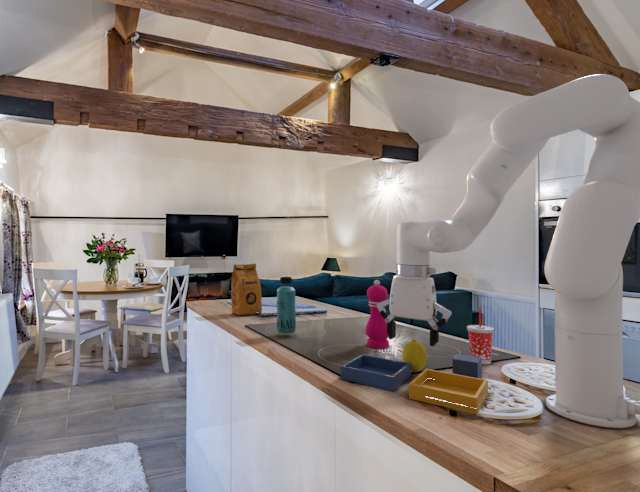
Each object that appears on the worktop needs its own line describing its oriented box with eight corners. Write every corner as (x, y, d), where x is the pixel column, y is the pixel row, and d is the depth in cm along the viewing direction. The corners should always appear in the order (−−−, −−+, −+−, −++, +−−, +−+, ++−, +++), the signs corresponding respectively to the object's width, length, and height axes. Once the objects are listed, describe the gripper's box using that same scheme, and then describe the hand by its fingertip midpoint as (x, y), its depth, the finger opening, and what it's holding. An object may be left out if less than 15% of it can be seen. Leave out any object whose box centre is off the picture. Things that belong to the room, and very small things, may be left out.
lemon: (429, 376, 95) (429, 343, 95) (405, 375, 96) (404, 342, 96) (424, 369, 101) (423, 337, 101) (400, 368, 102) (400, 336, 102)
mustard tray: (488, 394, 84) (487, 380, 84) (477, 414, 75) (476, 398, 75) (426, 381, 92) (425, 368, 92) (409, 398, 83) (408, 383, 83)
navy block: (481, 379, 93) (481, 357, 93) (477, 385, 89) (477, 362, 89) (457, 374, 96) (457, 353, 96) (452, 380, 93) (452, 358, 93)
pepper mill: (364, 347, 120) (363, 280, 121) (366, 341, 127) (365, 278, 127) (390, 350, 118) (389, 281, 118) (390, 343, 124) (389, 279, 125)
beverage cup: (489, 367, 102) (489, 311, 102) (463, 361, 106) (462, 308, 106) (497, 361, 106) (497, 308, 106) (472, 356, 110) (471, 305, 110)
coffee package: (264, 315, 173) (263, 263, 173) (237, 317, 169) (236, 264, 169) (255, 311, 183) (254, 262, 183) (229, 313, 178) (228, 263, 178)
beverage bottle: (282, 332, 141) (282, 275, 141) (299, 335, 137) (299, 276, 137) (273, 336, 136) (272, 277, 136) (290, 339, 132) (289, 278, 132)
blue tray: (411, 375, 96) (411, 363, 96) (393, 391, 87) (393, 377, 87) (362, 365, 104) (362, 354, 104) (340, 379, 95) (340, 366, 95)
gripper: (455, 272, 96) (454, 344, 96) (382, 268, 107) (382, 332, 107) (447, 275, 90) (446, 351, 90) (371, 270, 101) (371, 338, 101)
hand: (412, 341), depth 99 cm, fingers open, 9 cm apart
